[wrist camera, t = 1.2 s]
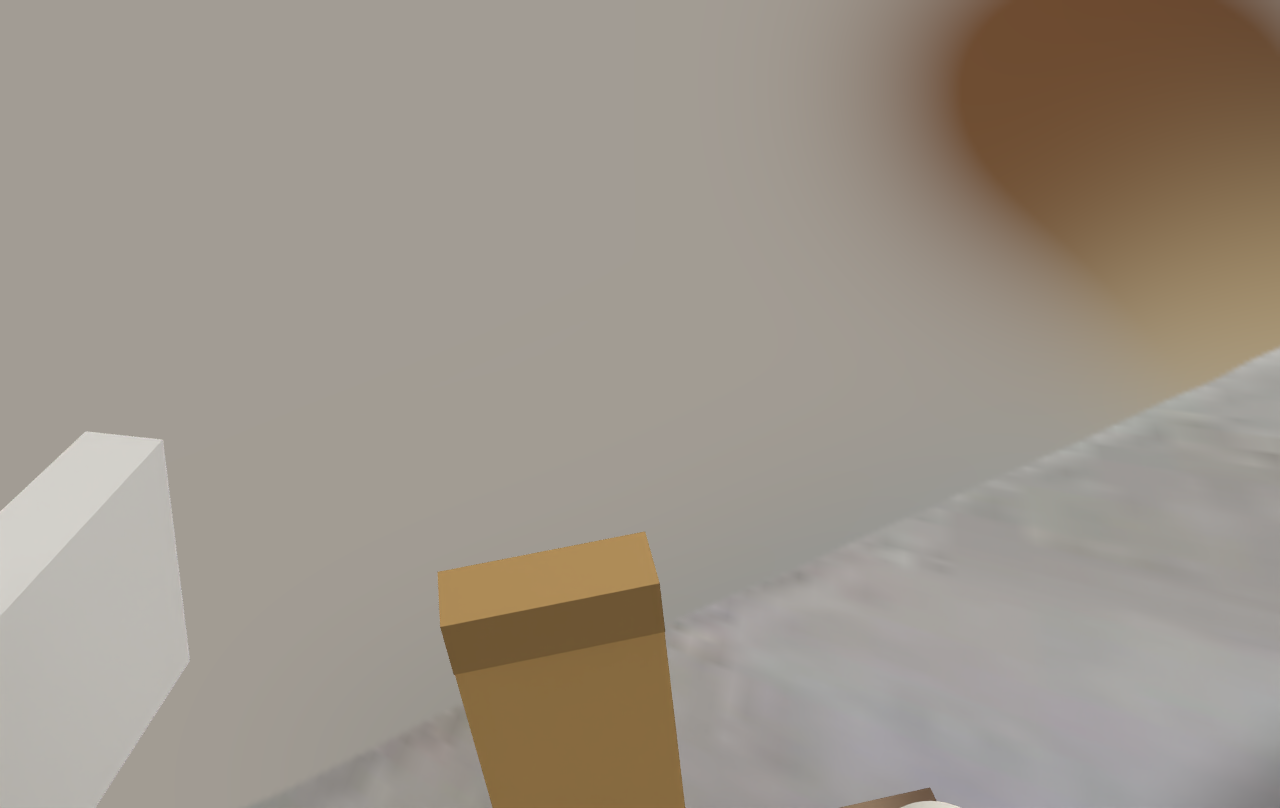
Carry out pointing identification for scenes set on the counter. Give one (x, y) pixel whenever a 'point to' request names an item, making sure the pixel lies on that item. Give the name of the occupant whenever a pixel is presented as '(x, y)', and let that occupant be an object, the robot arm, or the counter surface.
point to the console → (897, 800)
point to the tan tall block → (566, 676)
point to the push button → (930, 805)
